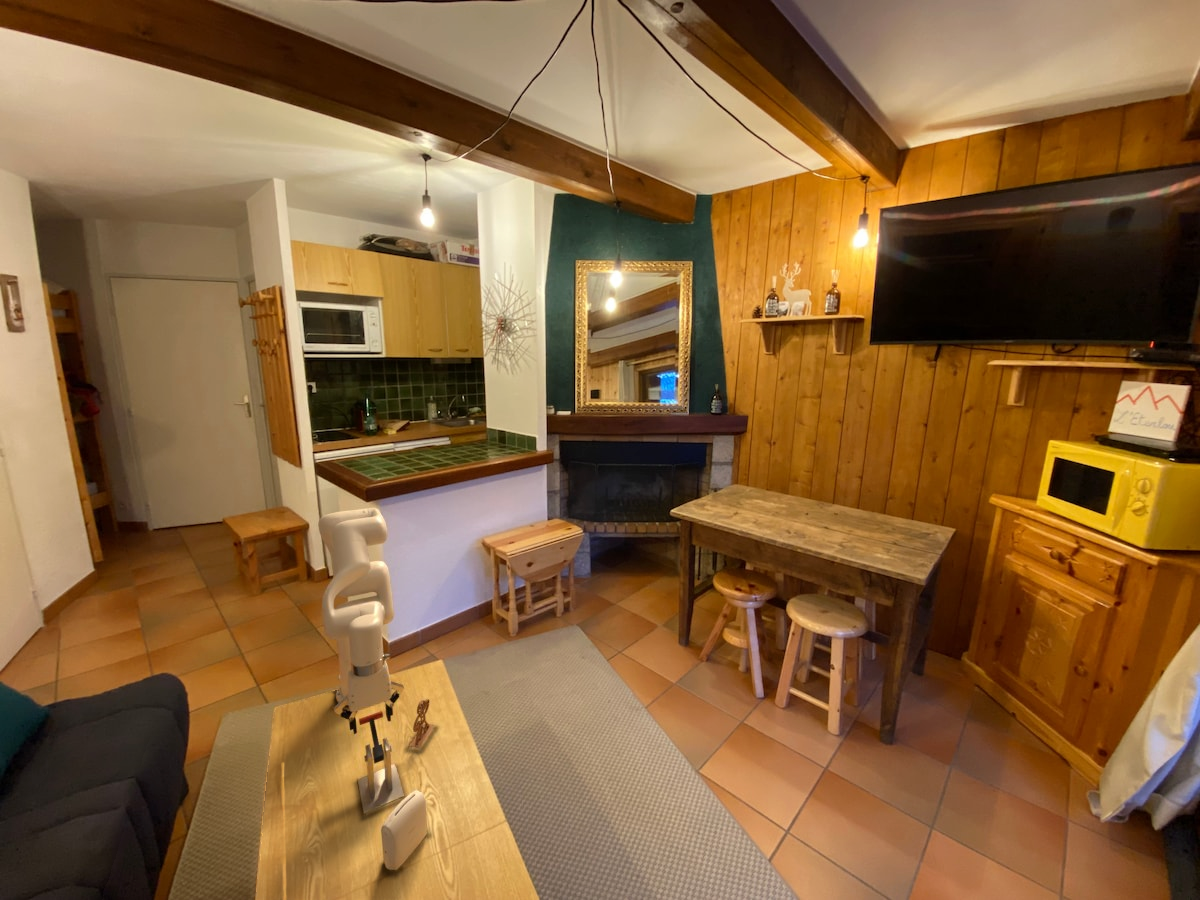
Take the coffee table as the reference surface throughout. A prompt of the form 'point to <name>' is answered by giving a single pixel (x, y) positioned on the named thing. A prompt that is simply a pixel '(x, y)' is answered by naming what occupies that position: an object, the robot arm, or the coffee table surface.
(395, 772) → the bracket
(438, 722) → the coffee table surface
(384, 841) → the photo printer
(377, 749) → the lever
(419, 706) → the brown filigree ornament
